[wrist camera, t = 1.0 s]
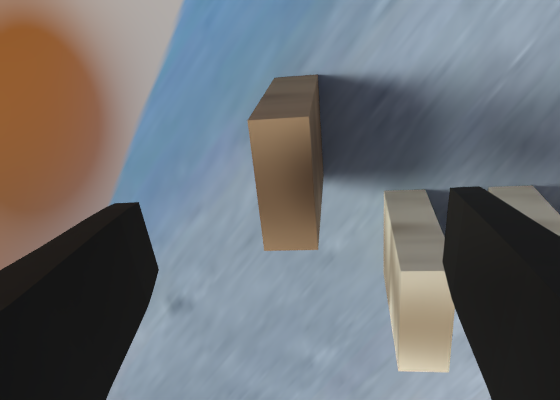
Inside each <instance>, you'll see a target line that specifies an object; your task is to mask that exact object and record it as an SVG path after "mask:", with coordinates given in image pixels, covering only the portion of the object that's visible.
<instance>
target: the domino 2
mask: <svg viewBox="0 0 560 400" xmlns="http://www.w3.org/2000/svg"><path fill="white" fill-rule="evenodd" d="M444 241H445V237H444V235H443V232H442V230H441V227H440V225H439V222H438V220H437V218H436V215H435V213H434V210H433V208H432V205H431V203H430V200H429V198H428V195H427V193H426V190H425V189H421V190H393V191H384V279H385V285H386V292H387V299H388V305H389V312H390V318H391V325H392V332H393V338H394V345H395V352H396V358H397V365H398V371H412V372H449V364H450V353H451V342H452V332H453V321H454V310H455V306H454V304H453V301H452V298H451V294H450V291H449V287H448V283H447V279H446V275H445V271H444V266H443V262H442V260H443V250H444Z"/></svg>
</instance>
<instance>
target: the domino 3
mask: <svg viewBox="0 0 560 400" xmlns="http://www.w3.org/2000/svg"><path fill="white" fill-rule="evenodd" d="M488 192H490V193H492V194H493V195H495V196H496V197H498V198H500V199H501V200H503V201H504V202H506V203H507V204H509V205H511V206H512V207H514V208H515V209H517V210H518V211H520V212H521V213H523V214H525V215H526V216H528V217H529V218H531V219H532V220H534V221H536V222H537V223H539V224H540V225H542V226H544V227H545V228H547V229H549V230H550V231H552V232H554V233H555V234H557V235H559V236H560V214H559V213H558V212H557V211H556V210H555V209H554V208H553V207H552V206H551V205H550V204H549V203H548V202H547V201H546V200H545V198H544V197H543V196H542V195H541V194H540V193H539V192H538V191H537V190H536V189H535V188H534V187H533V186H532V185H531V186H504V187H489V188H488Z"/></svg>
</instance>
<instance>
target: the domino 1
mask: <svg viewBox="0 0 560 400" xmlns="http://www.w3.org/2000/svg"><path fill="white" fill-rule="evenodd" d="M248 128H249V135H250V143H251V151H252V159H253V166H254V174H255V182H256V189H257V197H258V205H259V213H260V220H261V228H262V236H263V244H264V251H277V250H318V243H319V230H320V216H321V203H322V189H323V176H324V174H323V157H322V140H321V122H320V105H319V87H318V75H305V76H292V77H278V78H274V80H273V81H272V83H271V84H270V86H269V87H268V89H267V91H266V92H265V94H264V95H263V97H262V98H261V100H260V102H259V103H258V105H257V106H256V108H255V109H254V111H253V113H252V114H251V116H250V117H249V119H248Z"/></svg>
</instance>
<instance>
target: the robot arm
mask: <svg viewBox="0 0 560 400" xmlns="http://www.w3.org/2000/svg"><path fill="white" fill-rule="evenodd" d="M442 262H443V266H444V271H445V275H446V279H447V283H448V287H449V291H450V294H451V298H452V301H453V304H454V306H455V309H456V312H457V314H458V317H459V319H460V322H461V324H462V327H463V329H464V332H465V334H466V336H467V339H468V341H469V344H470V346H471V349H472V351H473V354H474V356H475V358H476V361H477V363H478V366H479V368H480V371H481V373H482V376H483V378H484V380H485V383H486V385H487V388H488V390H489V393H490V396H491V399H492V400H560V236H559V235H557V234H555V233H554V232H552V231H550V230H549V229H547V228H545V227H544V226H542V225H540V224H539V223H537V222H536V221H534V220H532V219H531V218H529V217H528V216H526V215H525V214H523V213H521V212H520V211H518V210H517V209H515V208H514V207H512V206H511V205H509V204H507V203H506V202H504V201H503V200H501V199H500V198H498V197H496V196H495V195H493V194H492V193H490V192H488V191H487V190H485V189H483V188H481V187H479V186H478V187H457V188H450V193H449V203H448V212H447V222H446V231H445V241H444V250H443V260H442ZM158 270H159V269H158V265H157V262H156V259H155V255H154V252H153V249H152V245H151V242H150V239H149V235H148V232H147V228H146V225H145V222H144V218H143V215H142V212H141V208H140V205H139V202H135V203H115V204H112V205H110V206H108V207H106V208H104V209H102V210H100V211H99V212H97V213H96V214H93V215H92V216H90V217H89V218H87V219H85V220H83V221H82V222H80V223H79V224H77V225H76V226H74V227H72V228H70V229H69V230H67V231H66V232H64V233H62V234H61V235H59V236H58V237H56V238H54V239H53V240H51V241H50V242H48V243H47V244H45V245H43V246H41V247H40V248H38V249H36V250H35V251H33V252H31V253H29V254H28V255H26V256H24V257H22V258H21V259H19V260H17V261H16V262H14V263H12V264H10V265H9V266H7V267H5V268H3V269H2V270H0V400H106V398H107V396H108V393H109V391H110V389H111V386H112V384H113V382H114V380H115V378H116V375H117V373H118V371H119V369H120V367H121V365H122V362H123V360H124V358H125V356H126V354H127V352H128V349H129V347H130V345H131V343H132V341H133V339H134V337H135V334H136V332H137V330H138V328H139V325H140V323H141V321H142V319H143V317H144V314H145V312H146V310H147V307H148V305H149V302H150V299H151V295H152V292H153V289H154V285H155V282H156V278H157V274H158Z"/></svg>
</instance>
